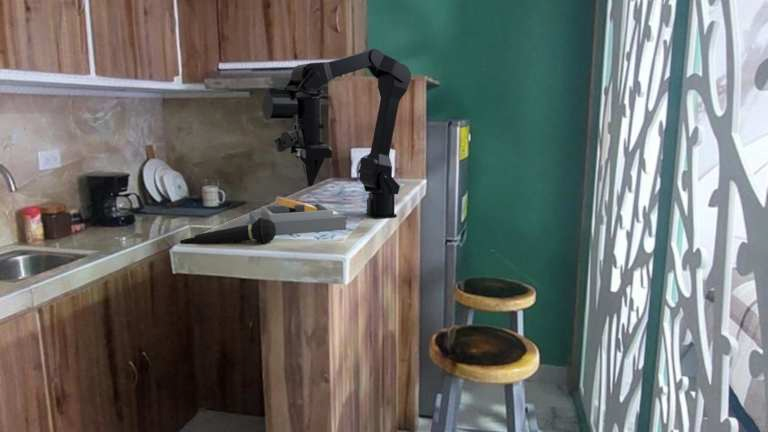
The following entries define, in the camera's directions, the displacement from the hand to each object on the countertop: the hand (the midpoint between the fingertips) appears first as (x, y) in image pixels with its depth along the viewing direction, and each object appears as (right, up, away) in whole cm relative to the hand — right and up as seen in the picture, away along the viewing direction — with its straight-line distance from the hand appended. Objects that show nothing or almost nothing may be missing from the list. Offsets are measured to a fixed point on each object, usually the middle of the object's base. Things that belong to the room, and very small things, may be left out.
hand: (309, 186), depth 124 cm
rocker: (-3, -5, 0) cm, 6 cm away
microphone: (-15, -13, -14) cm, 24 cm away
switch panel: (-3, -10, +1) cm, 10 cm away
